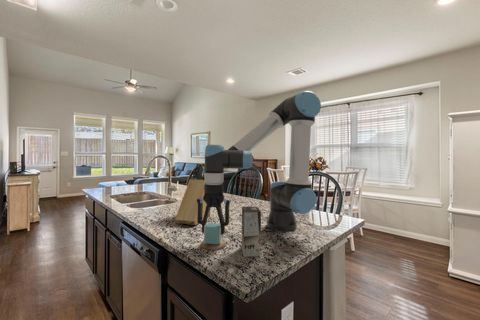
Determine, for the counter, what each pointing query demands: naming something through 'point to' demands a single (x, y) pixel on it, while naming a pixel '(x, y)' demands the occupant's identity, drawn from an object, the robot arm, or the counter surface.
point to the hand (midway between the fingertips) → (213, 241)
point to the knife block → (192, 199)
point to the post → (213, 245)
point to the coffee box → (251, 231)
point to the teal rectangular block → (212, 233)
